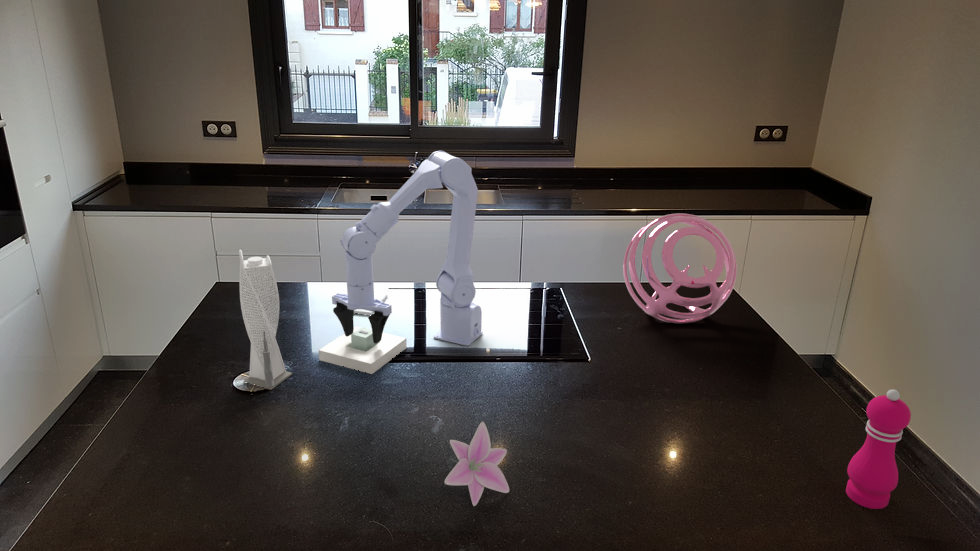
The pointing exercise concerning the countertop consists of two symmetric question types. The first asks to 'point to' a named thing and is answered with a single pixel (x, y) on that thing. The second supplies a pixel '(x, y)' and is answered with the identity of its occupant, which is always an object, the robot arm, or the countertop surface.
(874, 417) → the pepper mill
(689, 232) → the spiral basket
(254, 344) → the skyscraper
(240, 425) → the countertop surface
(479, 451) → the lily
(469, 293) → the robot arm
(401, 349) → the outlet plate
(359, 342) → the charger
